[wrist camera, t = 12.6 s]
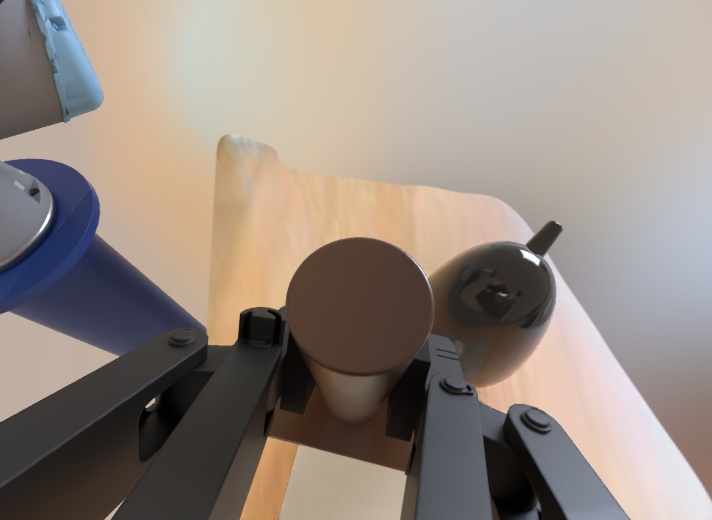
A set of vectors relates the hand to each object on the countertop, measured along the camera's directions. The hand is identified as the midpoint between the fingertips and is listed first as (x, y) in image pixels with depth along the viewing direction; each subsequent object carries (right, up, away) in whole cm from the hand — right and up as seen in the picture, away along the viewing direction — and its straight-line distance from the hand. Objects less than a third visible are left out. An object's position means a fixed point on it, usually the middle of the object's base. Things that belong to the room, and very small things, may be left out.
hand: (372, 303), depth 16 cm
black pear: (+9, -6, +17) cm, 20 cm away
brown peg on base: (-1, -5, +2) cm, 6 cm away
